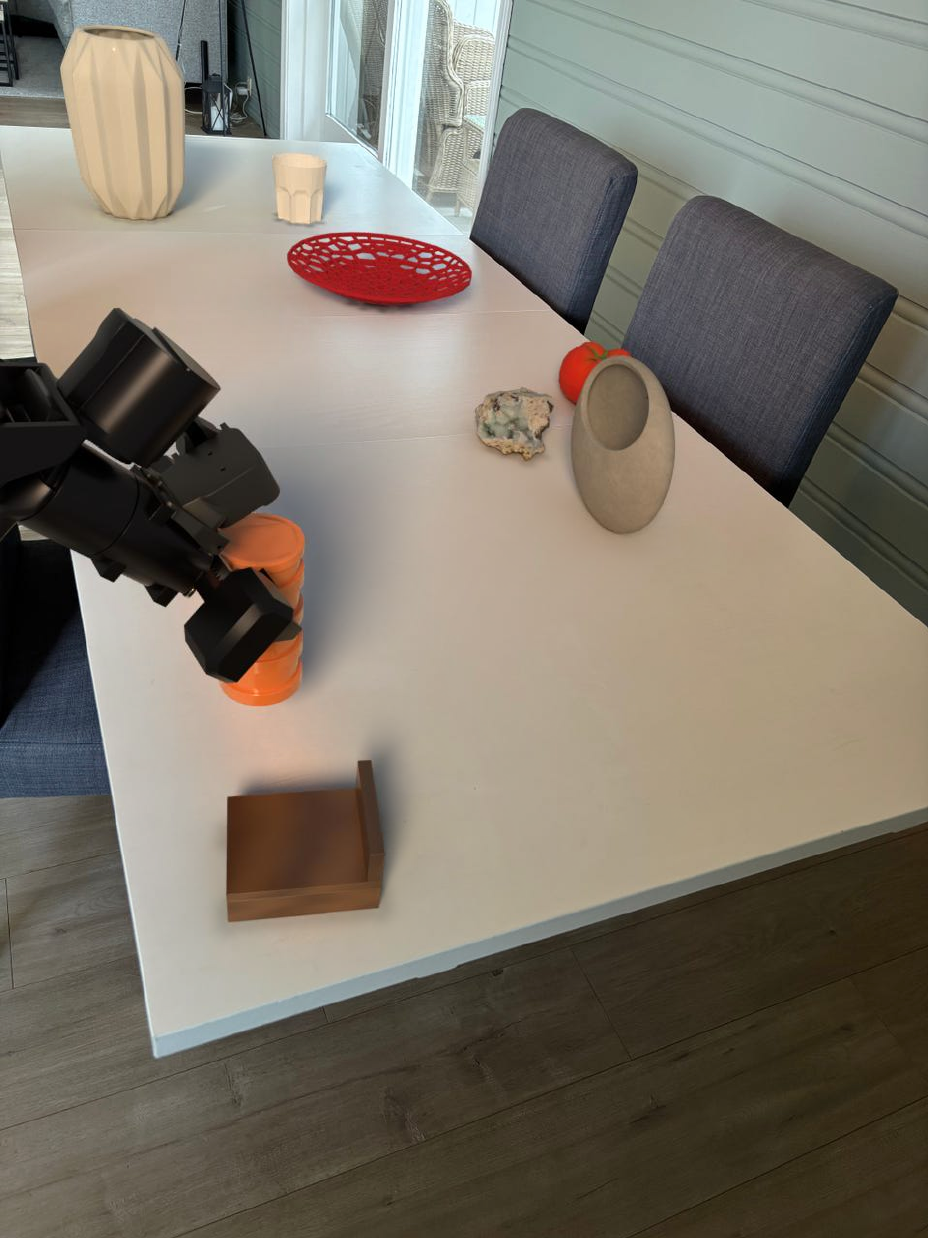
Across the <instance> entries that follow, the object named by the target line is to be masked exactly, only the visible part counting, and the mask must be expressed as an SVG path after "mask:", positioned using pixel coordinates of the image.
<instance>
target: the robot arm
mask: <svg viewBox="0 0 928 1238" xmlns="http://www.w3.org/2000/svg"><path fill="white" fill-rule="evenodd" d="M221 387H222V386H220V384H219V383H218V382H217V381H216V380H215V378H213V376H212V375H211V374H210V373H209V372H208V371H206V369H205V368H204V367H203V366H202V365H201V364H199V362H197V360H195V359H194V358H193V357H192V356H191V355H190V354H189V353H188V352H186V351H185V350H184V349H183V348H182V347H181V346H180V345H178V344H177V343H176V342H175V341H174V340H173V339H171V338H170V337H169V336H168V335H166V334H165V333H164V332H163V331H161V330H160V329H159V328H158V327H156V326H154V327H153V328H152V327H150V326H149V325H147V324H146V323H145V322H143V321H142V320H140V319H138V318H135V317H134V318H133V317H132V316H131V315H129V314H128V313H127V312H125V311H124V310H123V309H121V307H114V308H113V309H112V310H111V311H110V312H109V313H108V314H107V315H106V317H105V318H104V319H103V320H102V321H101V323H100V324H99V326H98V328H97V329H96V332H95V335H93V338H91V340H90V341H89V343H88V344H87V345H86V346H85V348H83V350H82V351H81V352H80V354H79V355H78V356H77V357H76V358H75V359H74V361H73V362H72V363H71V364H70V365H69V366H68V367H67V369H66V370H65V371H64V372H63V374H62V375H60V377H59V378H58V377H57V376H55V374H54V372H53V371H52V369H51V367H50V366H49V365H48V364H47V363H45V362H26V361H25V362H21V361H20V362H15V361H12V362H11V361H10V362H9V361H8V362H6V361H3V362H2V361H0V542H1V541H2V540H3V539H4V537H5V536H7V534H8V533H9V532H10V531H11V530H12V528H14V526H16V524H18V525H20V526H22V527H24V528H26V529H28V530H30V531H33V532H34V533H36V534H38V535H40V536H43V537H45V538H46V539H49V540H51V541H53V542H55V543H57V544H58V545H61V546H63V547H65V548H67V549H68V550H71V551H73V552H75V553H77V554H79V555H81V556H84V557H86V558H87V559H90V561H91V563H92V565H93V567H94V568H95V570H96V572H97V573H98V576H99V577H101V578H103V579H105V580H107V581H108V582H111V583H115V582H116V581H117V580H118V579H119V578H120V577H121V576H124V577H126V578H128V579H130V580H132V581H134V582H137V584H140V585H143V587H144V589H145V590H146V593H148V595H149V597H150V599H151V600H152V602H153V603H155V604H157V605H159V606H161V607H164V608H167V607H168V606H169V605H170V603H171V602H172V601H173V600H174V599H175V598H176V597H177V595H179V593H180V594H181V596H183V597H185V598H186V599H190V598H191V597H192V596H193V595H195V594H196V592H197V593H198V595H199V596H200V598H201V599H202V601H203V602H202V604H200V606H199V607H198V608H197V609H196V611H194V613H193V614H192V615H191V616H190V617H189V618H188V619H187V620H186V621H185V623H184V624H183V633H184V641H185V643H186V645H187V647H188V649H189V650H190V651H191V653H192V655H193V656H194V657H195V660H196V661H197V662H198V664H199V666H200V667H201V669H202V670H203V672H204V674H205V675H206V676H208V677H211V678H213V679H216V680H218V681H219V680H220V681H223V682H225V683H227V684H228V683H237V682H238V681H239V680H240V679H241V678H242V677H243V676H244V674H245V673H246V672H247V671H248V670H249V669H250V668H251V667H252V665H253V664H254V663H255V662H256V661H257V660H258V659H259V658H260V657H261V655H262V654H263V653H264V652H265V651H266V650H267V649H268V648H269V646H270V645H271V644H272V643H274V642H281V641H287V640H293V639H294V638H295V637H296V636H297V635H298V634H299V633H300V632H301V631H302V632H303V627H302V626H301V624H298V623H297V622H296V621H295V620H294V619H293V612H294V608H293V607H292V606H291V605H290V603H289V602H288V601H287V599H286V598H285V597H284V595H283V594H282V593H281V591H280V590H279V588H278V586H277V585H276V584H275V583H274V581H273V580H272V579H271V577H270V576H269V575H268V573H267V572H266V571H265V570H264V568H261V569H260V571H257V570H255V569H254V568H252V567H248V568H244V569H239V568H238V569H235V570H233V571H232V570H231V569H230V567H229V566H228V565H227V563H226V562H225V560H224V559H223V558H222V556H221V555H220V552H221V551H222V550H223V549H224V548H225V547H226V546H227V544H228V543H229V542H230V540H229V539H228V537H227V536H226V535H225V533H223V532H221V531H220V530H218V528H219V529H224V528H228V527H230V526H232V525H234V524H235V523H237V522H238V521H240V520H241V519H243V518H244V517H246V516H248V515H249V514H251V513H255V512H256V510H258V509H260V508H261V507H267V506H269V505H271V504H272V503H274V502H275V501H276V500H277V499H278V497H279V495H280V494H281V488H280V485H279V484H278V482H277V480H276V479H275V477H274V475H273V473H272V472H271V470H270V468H269V466H268V464H267V463H266V460H265V459H264V457H263V456H262V454H261V452H260V451H259V449H258V448H257V447H256V446H255V445H254V444H253V443H252V442H251V441H250V439H249V438H248V437H247V436H246V435H245V434H244V432H242V430H240V429H239V428H236V427H230V426H229V425H228V424H227V422H225V421H224V422H222V423H220V424H219V427H220V428H217V426H215V424H213V423H212V422H210V421H209V420H206V419H205V418H203V417H202V416H200V414H201V413H202V412H203V411H204V410H205V409H206V408H207V407H208V405H209V404H210V403H211V402H212V401H213V399H214V398H215V397H217V395H218V394H219V392H220V391H222V390H221V389H222V388H221ZM18 405H20V406H21V408H22V410H23V411H24V412H25V415H26V417H27V419H28V422H27V421H26V422H24V421H23V422H15V420H14V418H13V416H12V414H11V412H10V410H9V408H12V407H16V406H18ZM86 441H88V442H90V443H91V444H92V445H94V446H95V447H97V448H98V449H100V450H101V451H102V452H104V453H105V454H106V455H105V454H104V453H102V452H100V451H99V450H97V449H95V448H94V447H92V446H90V445H89V444H87V443H86ZM174 444H175V449H176V451H177V452H174V453H172V454H171V455H170V456H168V455H167V454H166V453H167V452H168V451H169V450H170V449H171V448H172V446H173V445H174ZM107 455H108V456H107ZM109 456H110V457H111V458H110V457H109ZM112 458H113V459H114V460H113V459H112ZM115 460H116V461H115ZM117 461H118V462H119V463H118V462H117ZM121 463H122V464H124V465H128V466H130V465H132V464H133V465H132V467H130V469H128V468H127V467H125V466H123V465H122V464H121Z"/></svg>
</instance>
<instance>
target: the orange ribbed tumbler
mask: <svg viewBox="0 0 928 1238" xmlns="http://www.w3.org/2000/svg"><path fill="white" fill-rule="evenodd" d="M218 530H220V531H221V532H223V533H225V535H226V536H227V537H228V539H229V540H230V542H229V543H228V544H227V546H226V547H225V548H224V549H223V550H222V551H221V552H220V555H221V556H222V558H223V559H224V560H225V562H226V563H227V565H228V566H229V567H230V569H231V570H232V571H233V570H235V569H238V568H239V569H244V568H248V567H252V568H254V569H255V570H257V571H260V569H261V568H264V570H265V571H266V572H267V573H268V575H269V576H270V577H271V579H272V580H273V581H274V583H275V584H276V585H277V586H278V588H279V590H280V591H281V593H282V594H283V595H284V597H285V598H286V599H287V601H288V602H289V603H290V605H291V606H292V607H293V608H294V612H293V619H294V620H295V621H296V622H297V623H298V624H299V625H301V623H302V621H303V618H304V610H305V609H304V608H305V607H304V605H305V603H304V602H305V601H304V596H303V593H302V592H301V589H302V588H303V586H304V582H305V561H304V558H303V557H304V554H305V551H306V537H305V534H304V532H303V530H302V529H301V527H300V526H299V525H297V524H296V523H295V522H293V521H292V520H290V519H288V518H286V517H283V516H281V515H276V514H273V513H264V512H252V513H251V514H249V515H248V516H246V517H244V518H243V519H241V520H240V521H238V522H237V523H235V524H234V525H232V526H230V527H228V528H224V529H219V528H218ZM303 645H304V632H303V630H302V631H301V632H300V633H299V634H298V635H297V636H296V637H295V638H294V639H293V640H287V641H281V642H274V643H272V644H271V645H270V646H269V648H268V649H267V650H266V651H265V652H264V653H263V654H262V655H261V657H260V658H259V659H258V660H257V661H256V662H255V663H254V664H253V665H252V667H251V668H250V669H249V670H248V671H247V672H246V673H245V674H244V676H243V677H242V678H241V679H240V680H239V681H238V682H237V683H228V684H227V683H225V682H223V681H220V680H218V683H219V687H220V688H221V691H222V692H223V693H224V694H225V696H227V697H228V698H229V699H231V700H232V701H234V702H236V703H238V704H241V705H245V706H249V707H269V706H274V705H277V704H280V703H282V702H285V701H287V700H289V699H290V698H291V697H293V696H294V695H295V694H296V693H297V691H298V690H299V689H300V686H301V685H302V680H303V661H302V659H301V657H300V656H301V655H302V653H303V648H304V647H303Z"/></svg>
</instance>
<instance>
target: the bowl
mask: <svg viewBox="0 0 928 1238" xmlns="http://www.w3.org/2000/svg"><path fill="white" fill-rule="evenodd" d="M344 238H351V239H352V240H347V239H344ZM325 239H326V240H327V239H328V241H320V240H325ZM304 245H306V246H308V247H311V249H306V248H304ZM352 245H358V246H359V248H356V249H351V248H350V247H349V246H352ZM330 246H334V247H336V248H337V249H338V250H337V249H332V248H330ZM299 248H300V249H299ZM298 249H299V250H298ZM326 251H327V252H326ZM437 252H438V253H440V254H437ZM378 253H380V254H378ZM381 253H382V254H385V255H381ZM360 254H367V255H371V256H372V257H373V258H362V257H361V258H360V257H359V256H358V255H360ZM422 254H430V255H431V256H430V257H421V256H420V255H422ZM333 256H336V257H333ZM394 256H403V258H400V257H394ZM322 257H325V258H327V260H325V259H324V258H322ZM348 257H351V258H348ZM449 257H450V259H449V260H446V259H447V258H449ZM412 258H414V259H415V260H417V261H412V260H409V259H412ZM436 259H437V260H436ZM286 261H287V264H288V266H289V268H290V269H291V270H292V271H293V272H294V274H296V275H297V276H298V277H300V278H301V279H303V280H305V281H306V282H308V283H310V284H313V285H314V286H317V287H319V288H321V289H324V290H326V291H328V292H331V293H333V294H336V295H339V296H342V297H345V298H348V299H350V300H355V301H358V302H362V303H366V304H372V305H378V306H402V305H413V304H420V303H427V302H428V303H429V302H434V301H438V300H442V299H445V298H449V297H453V296H455V295H457V294H459V293H461V292H463V291H465V290H466V289H467V288H468V287H470V285H471V282H472V277H473V271H472V268H471V267H470V265H469V263H467V262H466V261H465V260H464V259H463V258H461V257H460V256H458V255H457V254H455V253H453V252H452V251H450V250H447V249H445V248H443V247H440V246H438V245H436V244H432V243H428V242H425V241H422V240H418V239H414V238H409V237H406V236H400V235H394V234H387V233H378V232H362V231H361V232H359V231H346V232H329V233H322V234H316V235H312V236H309V237H306V238H304V239H301V240H300V241H298V242H296V243H295V244H293V245H291V247H290V249H289V250H288V252H287V253H286ZM454 261H456V262H455V263H453V262H454ZM427 263H429V264H427ZM459 264H460V265H459ZM438 265H445V266H444V267H442V268H438V269H435V268H434V266H438ZM311 266H312V267H311ZM403 266H404V267H403ZM313 267H314V268H313ZM405 267H408V268H405ZM315 268H317V269H319V270H317V269H315ZM418 269H419V270H425V271H426V270H427V271H428V272H426V273H421V272H418V271H417V270H418ZM433 277H434V278H433Z"/></svg>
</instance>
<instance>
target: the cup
mask: <svg viewBox="0 0 928 1238" xmlns="http://www.w3.org/2000/svg"><path fill="white" fill-rule="evenodd" d="M271 163H272V164H271V166H272V174H273V182H274V186H275V199H276V213H277V218H278V219H281V220H285V221H287V222H290V224H296V223H297V224H307V225H310V224H311V223H315V222H321V221H322V210H323V199H324V192H325V191H324V190H325V185H326V176H327V169H328V168H327V167H328V162H327V160H325V159H324V158H321V157H319V156H316V155H312V154H307V153H300V152H280V153H276V154H274V155H272V156H271Z"/></svg>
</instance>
